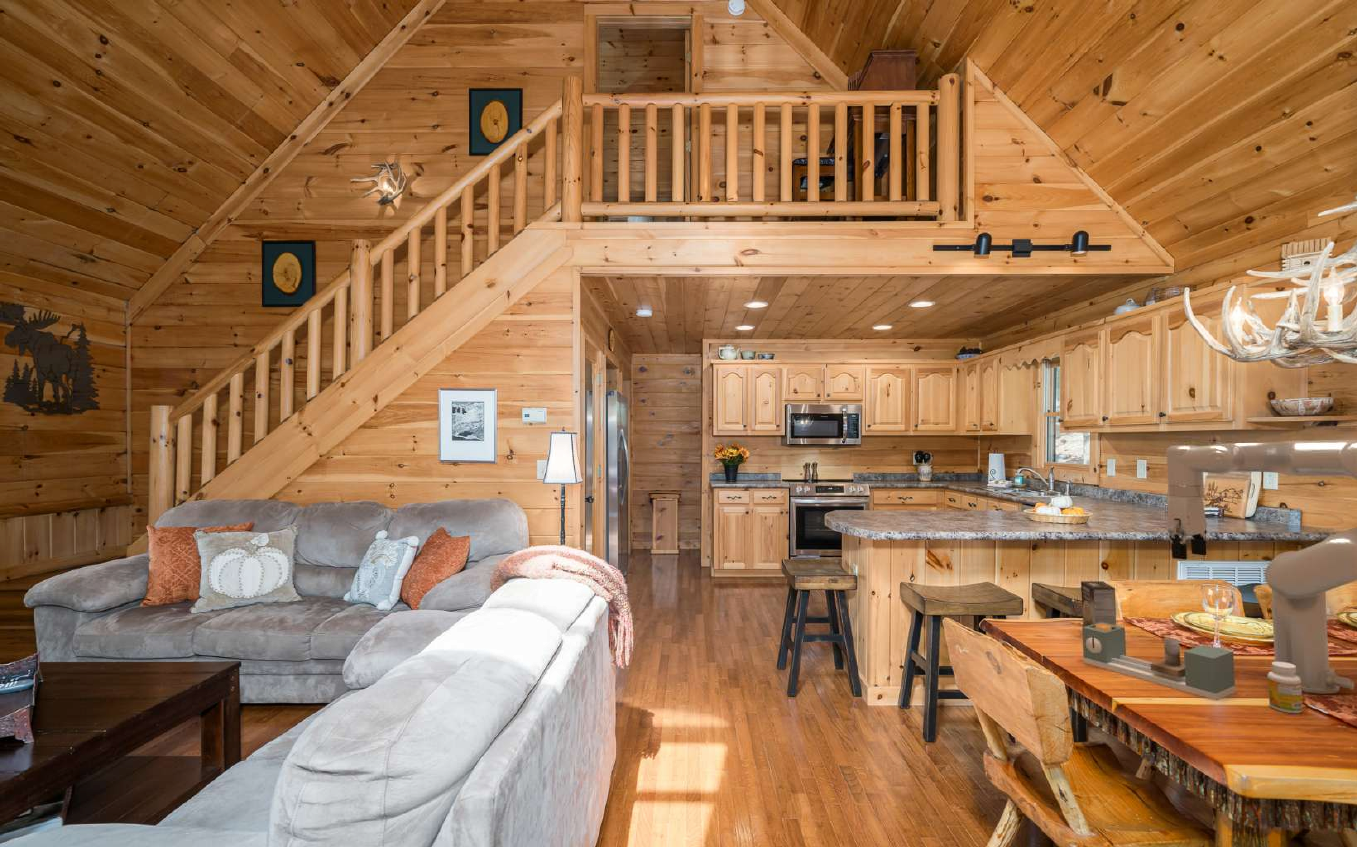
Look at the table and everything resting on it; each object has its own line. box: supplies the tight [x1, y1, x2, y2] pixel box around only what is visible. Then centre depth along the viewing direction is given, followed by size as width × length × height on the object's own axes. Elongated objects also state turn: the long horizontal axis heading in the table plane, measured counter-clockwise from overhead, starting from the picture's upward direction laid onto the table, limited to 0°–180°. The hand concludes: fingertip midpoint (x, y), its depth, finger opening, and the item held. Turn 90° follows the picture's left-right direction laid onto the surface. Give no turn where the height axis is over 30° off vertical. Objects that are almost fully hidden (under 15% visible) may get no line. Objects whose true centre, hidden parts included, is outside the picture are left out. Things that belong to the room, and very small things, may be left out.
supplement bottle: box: [1267, 661, 1304, 714], centre depth 145 cm, size 5×5×10 cm
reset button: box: [1095, 624, 1111, 631], centre depth 177 cm, size 4×4×3 cm
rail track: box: [1083, 655, 1236, 701], centre depth 166 cm, size 30×9×2 cm, turn 28°
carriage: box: [1151, 637, 1185, 677], centre depth 162 cm, size 6×8×8 cm
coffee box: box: [1080, 580, 1117, 627], centre depth 198 cm, size 9×6×16 cm
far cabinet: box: [1081, 622, 1127, 664], centre depth 176 cm, size 6×10×8 cm, turn 118°
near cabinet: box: [1183, 644, 1236, 694], centre depth 156 cm, size 7×9×8 cm
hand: (1189, 556), depth 174 cm, fingers open, 9 cm apart
